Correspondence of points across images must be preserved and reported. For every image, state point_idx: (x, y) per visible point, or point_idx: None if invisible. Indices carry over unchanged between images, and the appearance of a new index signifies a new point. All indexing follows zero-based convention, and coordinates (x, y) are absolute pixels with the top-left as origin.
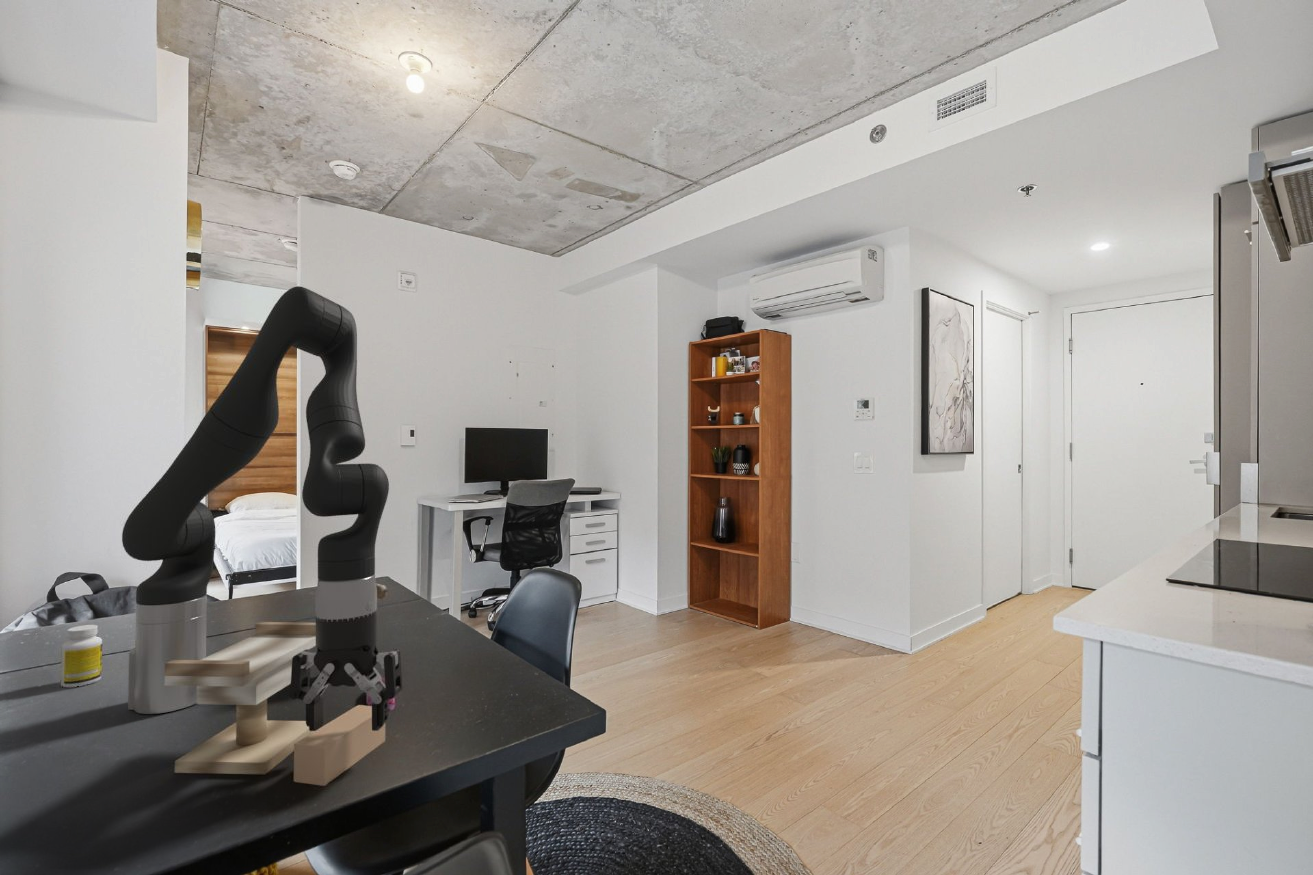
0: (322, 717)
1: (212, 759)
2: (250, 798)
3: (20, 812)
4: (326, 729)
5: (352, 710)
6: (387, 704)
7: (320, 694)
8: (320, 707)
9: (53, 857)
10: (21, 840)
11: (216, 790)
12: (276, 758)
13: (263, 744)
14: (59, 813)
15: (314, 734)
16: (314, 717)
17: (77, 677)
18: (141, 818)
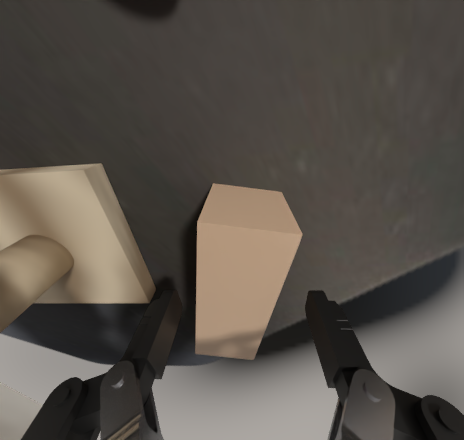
0: (169, 305)
1: (70, 299)
2: (185, 320)
3: (9, 334)
4: (213, 324)
5: (206, 255)
6: (362, 353)
7: (138, 379)
8: (161, 341)
9: (115, 361)
10: (67, 352)
11: (134, 311)
12: (145, 281)
13: (88, 265)
14: (42, 334)
15: (204, 335)
16: (173, 339)
17: None
18: (118, 338)
